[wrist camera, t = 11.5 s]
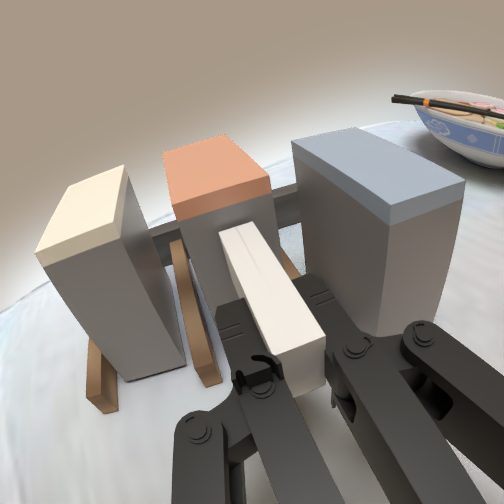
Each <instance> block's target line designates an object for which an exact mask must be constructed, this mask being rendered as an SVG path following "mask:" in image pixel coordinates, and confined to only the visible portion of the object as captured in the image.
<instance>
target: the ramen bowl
mask: <svg viewBox="0 0 504 504" xmlns="http://www.w3.org/2000/svg"><path fill="white" fill-rule="evenodd" d="M391 99H392V103H402V104H412V105H414V106H415V108H416V111H417V113H418V115H419V116H420V118H421V120H422V121H423V123H424V125H425V126H426V127H427V129H428V130H429V131H430V133H431V134H432V135H433V136H434V137H436V138H437V139H438V140H439V141H440V142H442V143H443V144H444V145H446V146H447V147H449V148H450V149H452V150H453V151H455V152H457V153H459V154H461V155H462V156H463V157H465V158H466V159H468V160H469V161H471V162H473V163H475V164H477V165H481V166H484V167H488V168H494V169H503V168H504V100H501V99H497V98H494V97H490V96H485V95H480V94H474V93H468V92H461V91H450V90H449V91H448V90H428V91H418V92H416V93H413V94H411V95H410V96H404V95H396V94H395V95H394V97H392V98H391Z"/></svg>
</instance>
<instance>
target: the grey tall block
mask: <svg viewBox="0 0 504 504" xmlns="http://www.w3.org/2000/svg"><path fill="white" fill-rule="evenodd" d="M35 255H36V257H37V259H38V260H39V262H40V264H41V265H42V267H43V269H44V270H45V272H46V274H47V275H48V277H49V279H50V280H51V282H52V283H53V285H54V286H55V288H56V290H57V291H58V293H59V294H60V296H61V297H62V299H63V300H64V302H65V303H66V305H67V306H68V308H69V309H70V311H71V312H72V313H73V315H74V316H75V318H76V319H77V321H78V322H79V323H80V325H81V326H82V327H83V329H84V330H85V332H86V333H87V334H88V336H89V337H90V338H91V340H92V341H93V342H94V343H95V345H96V346H97V347H98V349H99V350H100V351H101V352H102V354H103V355H104V356H105V358H106V359H107V360H108V361H109V362H110V364H111V365H112V366H113V367H114V369H115V370H116V371H117V372H118V373H119V374H120V376H121V377H122V378H123V379H124V380H125V381H126V382H127V381H131V380H135V379H138V378H142V377H146V376H149V375H153V374H156V373H160V372H163V371H167V370H170V369H173V368H177V367H180V366H183V365H186V361H185V356H184V351H183V346H182V342H181V336H180V331H179V326H178V321H177V315H176V310H175V304H174V299H173V293H172V287H171V282H170V280H169V277H168V275H167V273H166V270H165V268H164V266H163V263H162V261H161V259H160V256H159V254H158V251H157V249H156V247H155V244H154V242H153V239H152V237H151V234H150V232H149V229H148V227H147V224H146V222H145V219H144V217H143V214H142V211H141V209H140V206H139V203H138V201H137V198H136V196H135V193H134V190H133V187H132V185H131V182H130V179H129V176H128V173H127V171H126V168H125V165H121V166H119V167H116V168H114V169H111V170H108V171H106V172H103V173H100V174H98V175H95V176H93V177H90V178H88V179H85V180H83V181H81V182H78V183H76V184H73V185H71V186H69V187H68V189H67V191H66V192H65V194H64V196H63V198H62V199H61V201H60V203H59V205H58V207H57V208H56V210H55V213H54V214H53V216H52V218H51V220H50V222H49V224H48V226H47V228H46V230H45V232H44V234H43V236H42V238H41V240H40V242H39V244H38V246H37V248H36V251H35Z"/></svg>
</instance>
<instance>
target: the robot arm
mask: <svg viewBox="0 0 504 504" xmlns="http://www.w3.org/2000/svg"><path fill="white" fill-rule="evenodd" d="M218 233H219V236H220V240H221V244H222V247H223V251H224V254H225V258H226V261H227V265H228V268H229V272H230V275H231V278H232V282H233V284H234V287H235V289H236V292H237V294H238V296H239V299H238V300H235V301H232V302H229V303H226V304H223V305H220V306H217V309H216V314H215V322H216V325H217V328H218V331H219V335H220V338H221V341H222V344H223V347H224V350H225V353H226V356H227V360H228V363H229V366H230V369H231V381H232V383H233V388H232V391H231V393H230V395H229V396H228V397H227V399H226V400H224V401H223V402H222V403H221V404H219V405H218V406H216V407H215V408H213V409H212V410H210V411H209V412H208V411H200V410H198V411H194V412H190V413H188V414H187V415H185V416H184V417H182V418H181V420H180V421H179V422H178V423H177V425H176V429H175V432H174V449H173V470H172V500H171V504H246V490H245V474H244V460H246V459H247V458H248V457H250V456H251V455H253V454H254V453H255V452H257V451H259V454H260V457H261V459H262V462H263V465H264V467H265V470H266V472H267V475H268V477H269V480H270V483H271V485H272V488H273V490H274V493H275V495H276V498H277V500H278V502H279V504H345V502H344V500H343V498H342V496H341V494H340V492H339V490H338V488H337V486H336V484H335V482H334V480H333V478H332V476H331V474H330V472H329V470H328V468H327V466H326V464H325V462H324V460H323V458H322V456H321V454H320V452H319V450H318V448H317V446H316V444H315V441H314V439H313V437H312V435H311V433H310V431H309V429H308V427H307V425H306V423H305V421H304V419H303V417H302V414H301V412H300V410H299V408H298V406H297V404H296V402H295V400H294V398H295V397H297V396H300V395H302V394H305V393H307V392H310V391H312V390H314V389H317V388H319V387H322V386H324V385H326V379H327V381H328V382H329V384H330V386H331V388H332V393H331V405H332V408H335V407H336V405H337V407H338V409H339V410H340V412H341V414H342V416H343V418H344V419H345V421H346V423H347V425H348V427H349V429H350V430H351V432H352V434H353V436H354V438H355V439H356V441H357V443H358V445H359V447H360V449H361V450H362V452H363V454H364V456H365V458H366V459H367V461H368V463H369V465H370V467H371V469H372V470H373V472H374V474H375V476H376V478H377V480H378V481H379V483H380V485H381V487H382V489H383V490H384V492H385V494H386V496H387V498H388V500H389V501H390V503H391V504H486V502H485V501H484V499H483V497H482V496H481V494H480V492H479V491H478V489H477V488H476V486H475V484H474V483H473V481H472V480H471V478H470V476H469V475H468V473H467V472H466V470H465V468H464V467H463V465H462V464H461V462H460V461H459V459H458V458H457V456H456V454H455V453H454V451H453V450H452V448H451V447H450V445H449V444H448V442H447V441H446V439H447V440H448V441H449V442H450V443H451V444H452V445H453V446H454V447H456V448H457V449H458V450H459V451H460V452H461V453H462V454H463V455H465V456H466V457H467V458H468V459H469V460H470V461H471V462H473V463H474V464H475V465H476V466H477V467H478V468H479V469H480V470H482V471H483V472H484V473H485V474H486V475H487V476H488V477H490V478H491V479H492V480H493V481H494V482H495V483H496V484H498V485H499V486H500V487H501V488H502V489H503V490H504V376H503V375H502V374H500V373H499V372H498V371H497V370H495V369H494V368H493V367H492V366H490V365H489V364H488V363H486V362H485V361H484V360H482V359H481V358H480V357H479V356H477V355H476V354H475V353H473V352H472V351H471V350H469V349H468V348H467V347H465V346H464V345H463V344H461V343H460V342H459V341H457V340H456V339H455V338H453V337H452V336H451V335H449V334H448V333H447V332H445V331H444V330H443V329H441V328H440V327H438V326H437V325H436V324H434V323H432V322H430V321H424V320H419V321H414V322H412V323H410V324H409V325H407V327H406V328H405V330H404V332H403V334H398V335H392V336H386V337H375V336H371V335H370V334H368V333H365V332H363V331H361V330H360V329H359V328H358V327H357V326H356V325H355V324H354V322H353V321H352V319H351V318H350V317H349V315H348V314H347V313H346V311H345V310H344V309H343V307H342V306H341V305H340V303H339V302H338V300H337V299H335V296H334V295H333V294H332V292H331V291H329V288H328V287H327V286H326V284H325V283H324V282H323V280H322V279H320V278H318V277H316V276H315V275H313V274H311V273H309V274H306V275H303V276H301V277H298V278H295V279H292V280H290V279H289V277H288V275H287V274H286V272H285V271H284V269H283V268H282V266H281V265H280V263H279V261H278V260H277V258H276V257H275V255H274V254H273V252H272V251H271V249H270V247H269V246H268V244H267V243H266V241H265V240H264V238H263V237H262V235H261V234H260V232H259V231H258V229H257V227H256V226H255V224H254V223H253V221H252V222H249V223H246V224H242V225H239V226H236V227H233V228H230V229H227V230H224V231H221V232H218Z"/></svg>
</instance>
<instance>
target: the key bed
mask: <svg viewBox="0 0 504 504" xmlns="http://www.w3.org/2000/svg"><path fill="white" fill-rule="evenodd" d="M272 195H273V202H274V208H275V214H276V220H277V226H278V229H280V228H283V227H286V226H289V225H292V224H295V223H298V222H301V217H300V208H299V199H298V191H297V183H295V184H291V185H288V186H284V187H281V188H277V189H274V190H272ZM149 232H150V234H151V237H152V239H153V242H154V244H155V247H156V249H157V251H158V254H159V256H160V259H161V261H162V263H163V266H167V265H170V264H173V267H174V272H175V278H176V283H177V289H178V294H179V299H180V304H181V309H182V314H183V319H184V324H185V328H186V333H187V338H188V342H189V347H190V351H191V356H192V360H193V364H194V368H195V370H196V372H197V374H198V375H199V377H200V379H201V380H202V382H203V384H204V385H205V387H209V386H212V385H215V384H218V383H222V382H223V381H222V378H221V375H220V371H219V368H218V365H217V362H216V358H215V355H214V351H213V348H212V345H211V341H210V338H209V334H208V331H207V327H206V324H205V320H204V317H203V313H202V309H201V306H200V302H199V298H198V294H197V291H196V287H195V283H194V279H193V275H192V271H191V267H190V264H189V260H188V258H190V256H189V253H188V250H187V248H186V245H185V242H184V239H183V236H182V233H181V231H180V228H179V225H178V222H177V220H174V221H171V222H168V223H165V224H162V225H159V226H156V227H154V228H151V229H149ZM281 252H282V259H283V266H284V271H285V272H286V274H287V275H288V277H289V279H290V280H292V279H295V278H298V277H301V274H300V273H299V272H298V270H297V269H296V267H295V266H294V264H293V263H292V262H291V260H290V259H289V257H288V256H287V255H286V253H285V252H284V250H283V249H282V248H281ZM86 398H87V399H88V400H89V401H90V402H91V403H92V404H93V405H95V406H96V407H97V408H98V409H99V410H100V411H101V412H102V413H103V414H106V413H111V412H116V411H118V399H117V377H116V370H115V369H114V367H113V366H112V365H111V364H110V362H109V361H108V360H107V359H106V358H105V356H104V355H103V354H102V352H101V351H100V350H99V349H98V347H97V346H96V345H95V343H94V342H93V341H92V340H91V338H90V337H89V344H88V359H87V379H86Z"/></svg>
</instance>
